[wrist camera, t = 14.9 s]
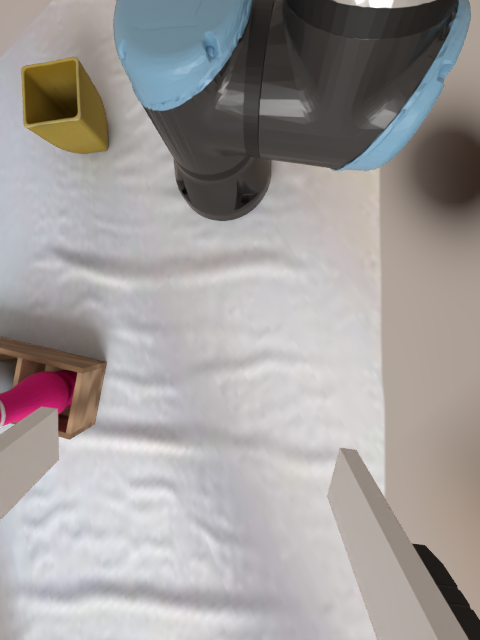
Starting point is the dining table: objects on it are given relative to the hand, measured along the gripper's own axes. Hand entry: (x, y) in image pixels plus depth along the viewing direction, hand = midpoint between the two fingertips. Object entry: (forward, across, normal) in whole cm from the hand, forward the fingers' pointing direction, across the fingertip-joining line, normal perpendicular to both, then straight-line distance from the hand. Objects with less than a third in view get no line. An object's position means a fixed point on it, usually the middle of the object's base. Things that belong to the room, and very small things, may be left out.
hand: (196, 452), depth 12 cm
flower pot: (+39, -28, +26) cm, 55 cm away
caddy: (+30, -31, -16) cm, 46 cm away
